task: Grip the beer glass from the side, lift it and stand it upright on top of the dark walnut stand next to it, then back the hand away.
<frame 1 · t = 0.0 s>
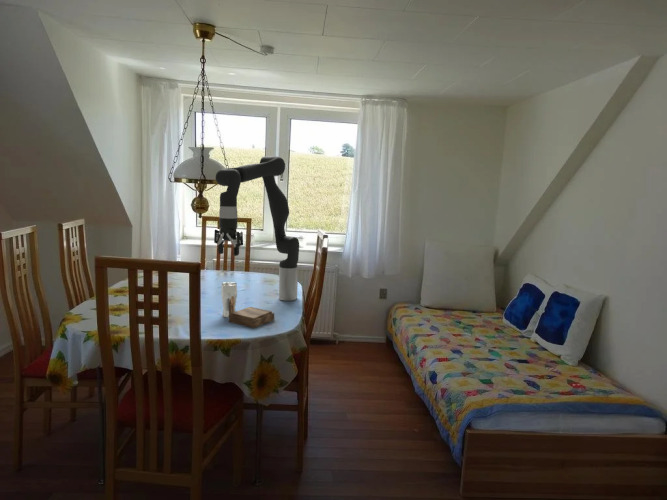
hand: (228, 254, 191), 29 cm above the table, tool pointing down, fingers open, 8 cm apart
beer glass: (229, 316, 202), on the table
walnut stand: (251, 320, 196), on the table
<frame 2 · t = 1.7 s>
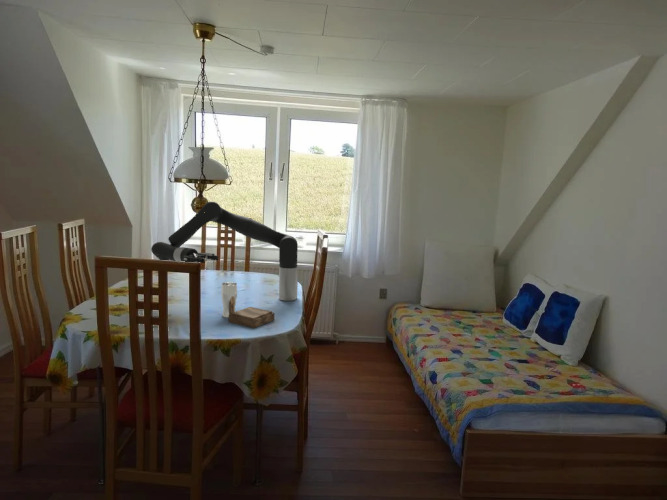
hand: (211, 259, 203), 25 cm above the table, tool horizontal, fingers open, 8 cm apart
nothing on the table moved.
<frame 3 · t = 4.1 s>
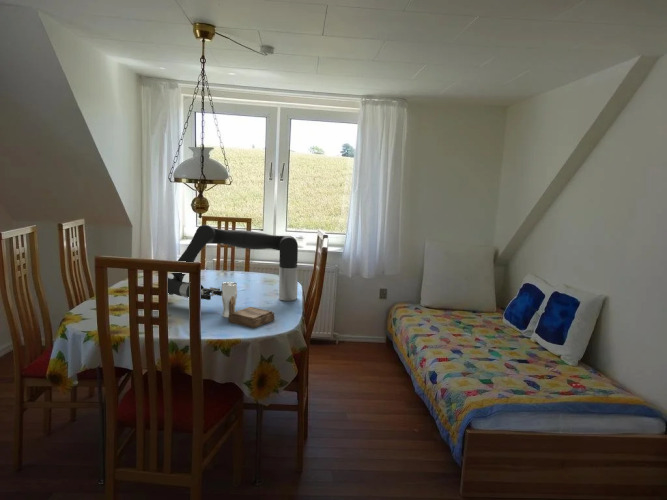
hand: (217, 295, 204), 8 cm above the table, tool horizontal, fingers open, 8 cm apart
nothing on the table moved.
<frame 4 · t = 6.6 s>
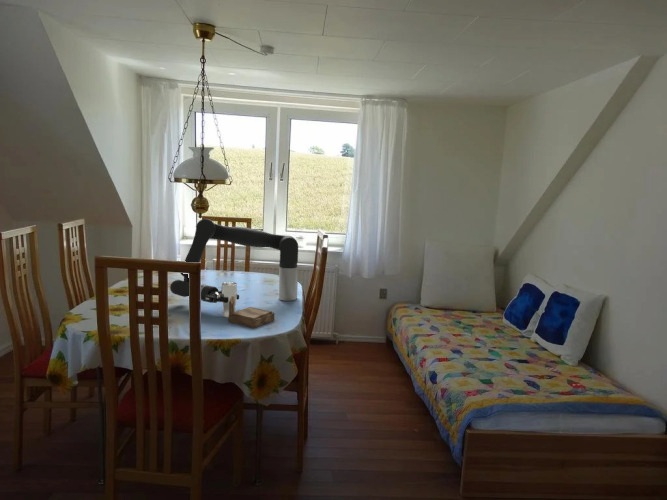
hand: (233, 298, 200), 8 cm above the table, tool horizontal, fingers closed on beer glass, 6 cm apart
beer glass: (229, 316, 202), on the table, touching gripper
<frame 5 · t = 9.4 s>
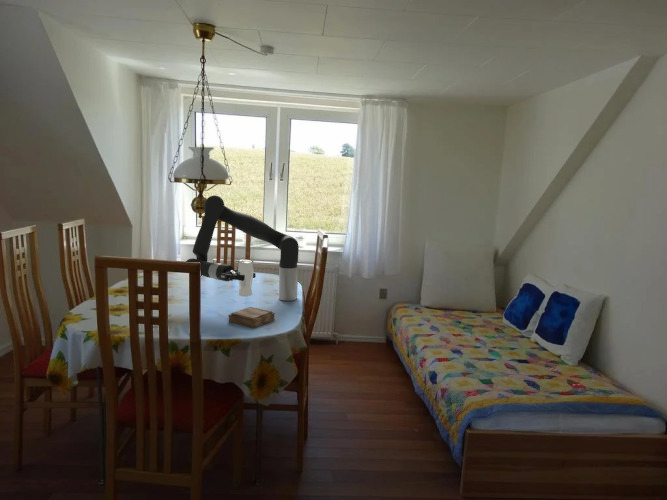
hand: (249, 276, 193), 20 cm above the table, tool horizontal, fingers closed on beer glass, 6 cm apart
beer glass: (245, 295, 196), point 11 cm above the table, touching gripper
when the fingers open (13 cm above the table, at t = 12.2 s): beer glass moves 1 cm, resting on walnut stand.
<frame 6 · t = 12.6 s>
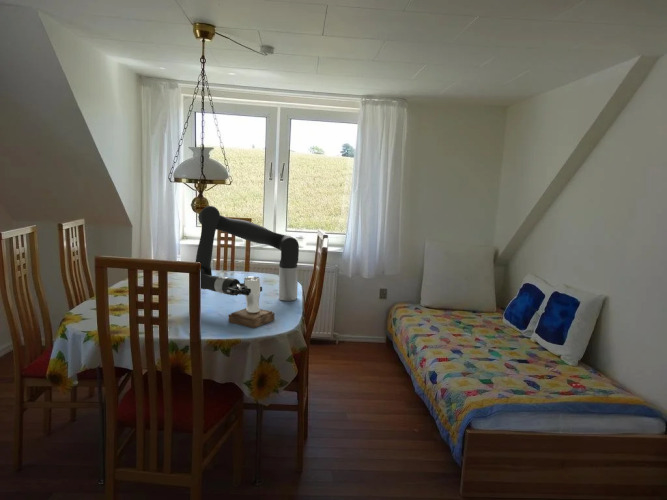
hand: (255, 291, 193), 14 cm above the table, tool horizontal, fingers open, 8 cm apart
beer glass: (253, 311, 196), point 4 cm above the table, touching gripper, walnut stand
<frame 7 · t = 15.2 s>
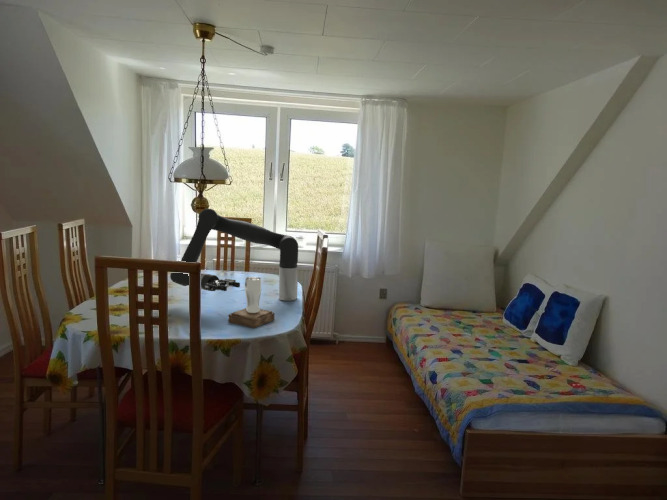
hand: (233, 286, 199), 14 cm above the table, tool horizontal, fingers open, 8 cm apart
beer glass: (253, 312, 196), point 4 cm above the table, touching walnut stand
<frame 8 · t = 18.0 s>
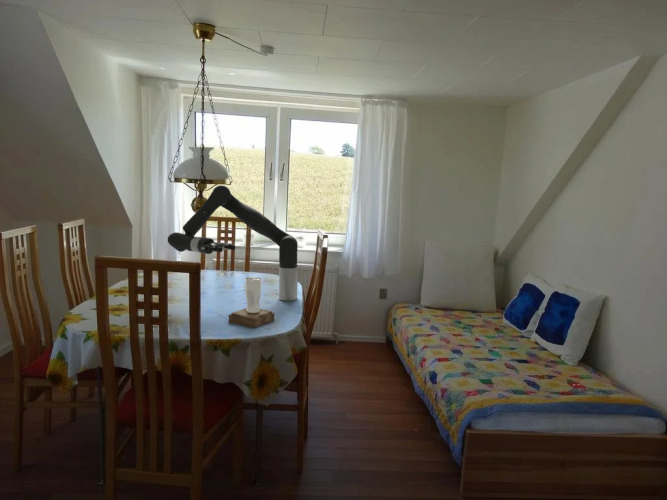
hand: (228, 248, 203), 30 cm above the table, tool horizontal, fingers open, 8 cm apart
nothing on the table moved.
at the end: beer glass inside the target area on the walnut stand (0.9 cm from its centre), point 3.8 cm above the walnut stand's base; beer glass tilted 0°; the gripper is holding nothing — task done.
